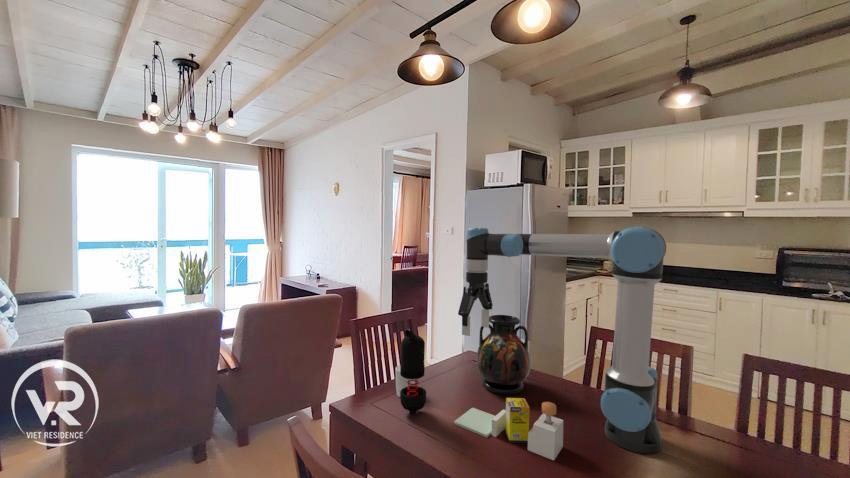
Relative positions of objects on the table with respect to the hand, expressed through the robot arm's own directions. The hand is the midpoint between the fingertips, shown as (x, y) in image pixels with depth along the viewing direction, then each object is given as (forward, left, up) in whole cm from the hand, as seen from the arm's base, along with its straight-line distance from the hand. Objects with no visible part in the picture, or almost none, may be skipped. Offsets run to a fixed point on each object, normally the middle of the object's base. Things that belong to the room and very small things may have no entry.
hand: (475, 330), depth 126 cm
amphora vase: (0, -22, -28) cm, 35 cm away
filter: (+15, +16, -28) cm, 35 cm away
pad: (-6, +8, -27) cm, 29 cm away
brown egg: (-29, +8, -21) cm, 37 cm away
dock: (-22, +8, -27) cm, 36 cm away
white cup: (+26, +8, -28) cm, 38 cm away
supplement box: (-19, +8, -28) cm, 35 cm away
